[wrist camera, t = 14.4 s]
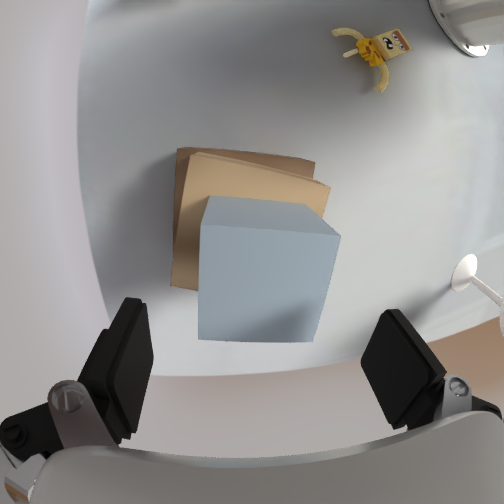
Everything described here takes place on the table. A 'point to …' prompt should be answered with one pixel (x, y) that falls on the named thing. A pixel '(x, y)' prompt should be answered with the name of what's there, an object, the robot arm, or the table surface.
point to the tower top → (231, 185)
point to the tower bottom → (269, 160)
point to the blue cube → (263, 270)
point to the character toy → (377, 50)
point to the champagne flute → (475, 283)
